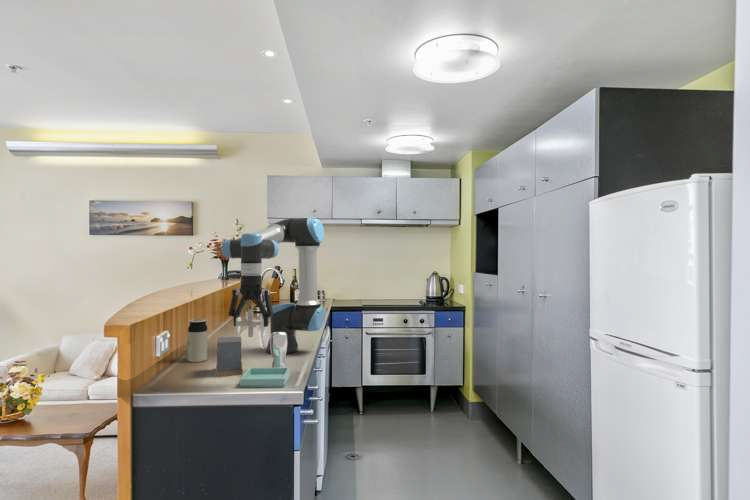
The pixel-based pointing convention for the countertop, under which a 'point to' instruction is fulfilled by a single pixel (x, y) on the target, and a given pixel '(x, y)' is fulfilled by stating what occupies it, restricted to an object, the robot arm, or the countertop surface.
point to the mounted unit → (229, 357)
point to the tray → (265, 377)
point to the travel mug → (197, 340)
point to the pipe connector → (249, 323)
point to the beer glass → (278, 349)
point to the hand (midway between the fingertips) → (250, 335)
